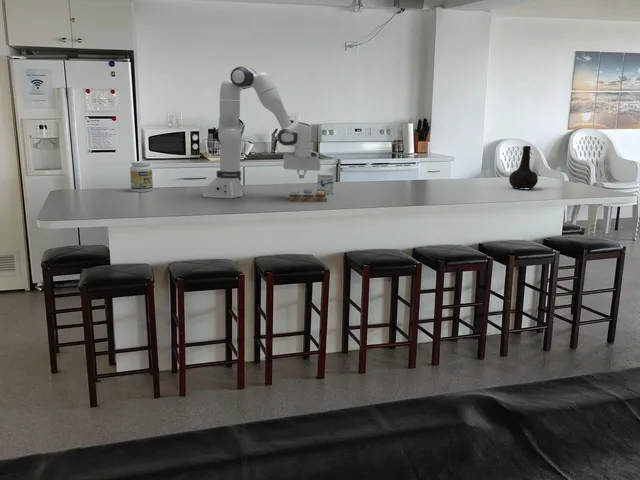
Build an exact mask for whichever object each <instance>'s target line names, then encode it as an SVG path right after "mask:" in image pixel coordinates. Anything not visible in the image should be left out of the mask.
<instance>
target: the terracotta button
mask: <svg viewBox="0 0 640 480" xmlns="http://www.w3.org/2000/svg"><path fill="white" fill-rule="evenodd" d="M315 192H316V194H315V195H319V196H323V195H325V194H324V191H317V190H316V191H315Z"/></svg>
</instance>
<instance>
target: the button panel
mask: <svg viewBox="0 0 640 480" xmlns="http://www.w3.org/2000/svg"><path fill="white" fill-rule="evenodd" d="M288 199H289V202H299V203H300V202H301V203H303V202H308V203H309V202H311V203H314V202H316V203H317V202H321V203H322V202H323V203H324V202H326V203H327V201H328V199H327V196H326V194H324V195H323V196H319V195H316V194H305V193H303V194H300V193H298V194H293V193H290V194H289V195H288Z"/></svg>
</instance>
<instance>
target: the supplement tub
mask: <svg viewBox="0 0 640 480" xmlns="http://www.w3.org/2000/svg"><path fill="white" fill-rule="evenodd" d="M129 171H130V174H129V176H130V189H131V192H136V193H147V192H152V191H153V189H154V188H153V186H154V185H153V183H154V181H153V180H154V179H153V168H152V166H151V161H147V160H137V161H136V160H134V161H131V167H130V169H129Z"/></svg>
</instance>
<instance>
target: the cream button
mask: <svg viewBox="0 0 640 480" xmlns="http://www.w3.org/2000/svg"><path fill="white" fill-rule="evenodd" d="M290 194H300V189H299V188H290Z"/></svg>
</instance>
